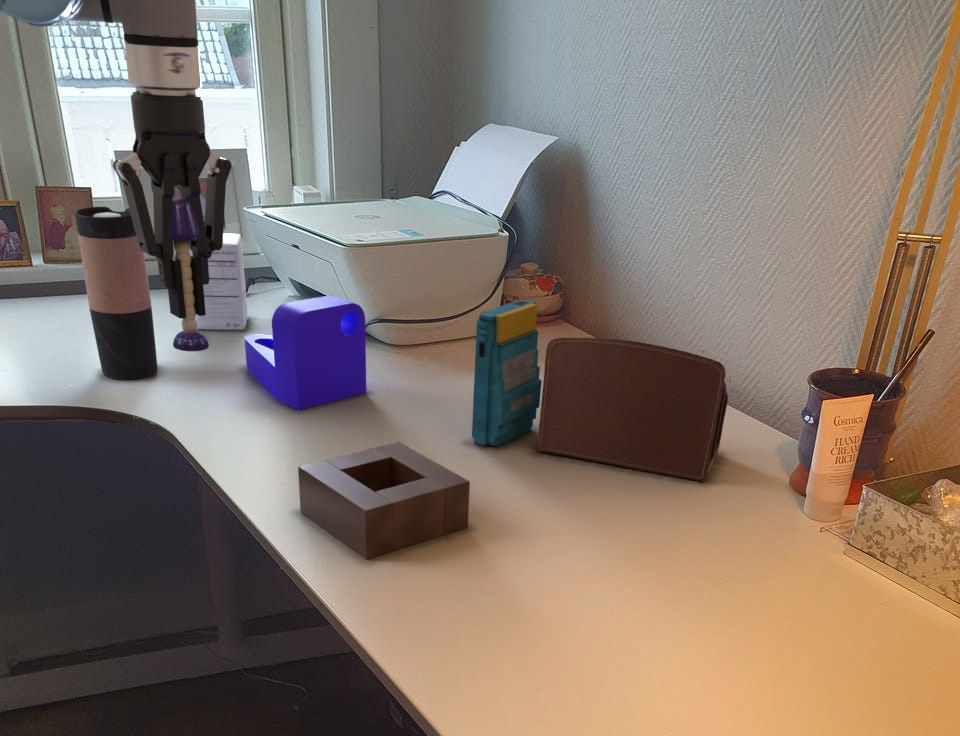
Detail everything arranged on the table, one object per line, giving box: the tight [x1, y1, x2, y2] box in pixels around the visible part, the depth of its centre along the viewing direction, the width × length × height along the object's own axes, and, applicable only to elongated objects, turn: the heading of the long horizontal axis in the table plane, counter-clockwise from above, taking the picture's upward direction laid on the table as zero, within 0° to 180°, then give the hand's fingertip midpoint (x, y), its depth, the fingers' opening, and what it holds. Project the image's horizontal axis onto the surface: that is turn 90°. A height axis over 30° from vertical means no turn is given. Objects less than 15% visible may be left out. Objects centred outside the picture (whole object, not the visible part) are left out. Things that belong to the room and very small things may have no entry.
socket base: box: [297, 441, 471, 560], centre depth 97 cm, size 12×12×5 cm
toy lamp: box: [168, 197, 210, 352], centre depth 116 cm, size 5×5×17 cm
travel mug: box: [74, 206, 159, 381], centre depth 127 cm, size 8×8×20 cm
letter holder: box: [536, 337, 729, 483], centre depth 112 cm, size 10×20×14 cm, turn 70°
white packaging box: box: [189, 232, 249, 331], centre depth 150 cm, size 7×7×13 cm
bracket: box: [243, 295, 367, 411], centre depth 128 cm, size 18×11×12 cm, turn 45°
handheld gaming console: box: [471, 299, 542, 448], centre depth 115 cm, size 10×4×15 cm, turn 145°
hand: (188, 313), depth 119 cm, fingers closed on toy lamp, 2 cm apart
